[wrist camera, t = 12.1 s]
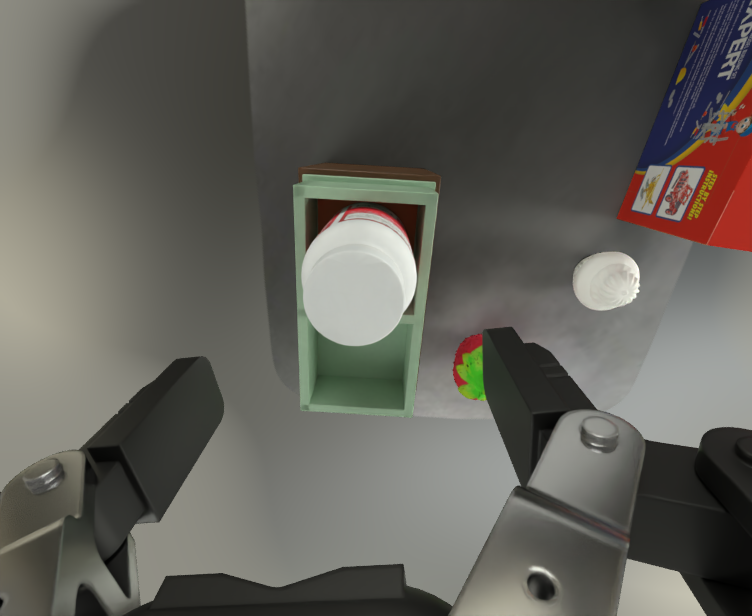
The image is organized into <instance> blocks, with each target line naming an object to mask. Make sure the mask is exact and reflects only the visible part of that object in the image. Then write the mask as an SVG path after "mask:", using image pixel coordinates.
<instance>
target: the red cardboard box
mask: <svg viewBox="0 0 752 616" xmlns="http://www.w3.org/2000/svg"><path fill="white" fill-rule="evenodd" d="M617 219H619V220H622V221H626V222H629V223H632V224H636V225H639V226H643V227H646V228H650V229H653V230H656V231H660V232H663V233H667V234H670V235H673V236H677V237H680V238H684V239H687V240H691V241H694V242H697V243H701V244H705V245H710V246H717V247H724V248H730V249H737V250H743V251H750V252H752V0H709V1H707V2H704V3H702V4H701V6H700V9H699V11H698V14H697V16H696V19H695V21H694V24H693V26H692V29H691V31H690V34H689V37H688V39H687V42H686V44H685V47H684V49H683V52H682V54H681V57H680V59H679V62H678V64H677V67H676V69H675V72H674V74H673V77H672V80H671V82H670V85H669V87H668V90H667V92H666V95H665V97H664V100H663V102H662V105H661V107H660V110H659V112H658V115H657V117H656V120H655V123H654V125H653V128H652V130H651V133H650V135H649V138H648V140H647V143H646V145H645V148H644V150H643V153H642V155H641V158H640V160H639V163H638V166H637V168H636V171H635V173H634V176H633V178H632V180H631V183H630V186H629V188H628V191H627V193H626V196H625V198H624V201H623V203H622V206H621V208H620V211H619V213H618V216H617Z"/></svg>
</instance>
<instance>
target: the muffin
mask: <svg viewBox="0 0 752 616" xmlns="http://www.w3.org/2000/svg"><path fill="white" fill-rule="evenodd" d="M572 284H573V289H574V292H575V295H576V297H577V298H578V300H579V301H580V302H581V303H582V304H583V305H584V306H586V307H588V308H590V309H593V310H609V309H613V308H616V307H618V306H624V305H626V304H627V303H631V302H632V299H634V298H636V293H638V292H639V290H638V287H639V286H640V284H639V269H638V266H637V264H636V263H635V261H634V260H633V259H632V258H631V257H629V256H628V255H626V254H624V253H621V252H602V253H597V254H594V255H591V256H589V257H587V258H585V259H583V260H582V261H581V262H579V264H577V266H576V267H575V269H574V273H573V283H572Z"/></svg>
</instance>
